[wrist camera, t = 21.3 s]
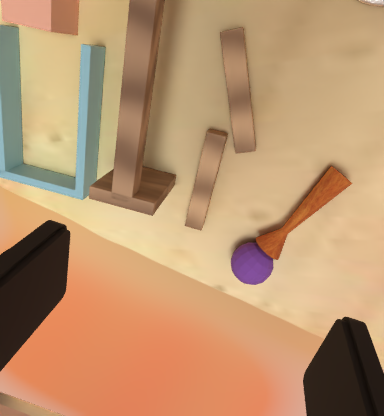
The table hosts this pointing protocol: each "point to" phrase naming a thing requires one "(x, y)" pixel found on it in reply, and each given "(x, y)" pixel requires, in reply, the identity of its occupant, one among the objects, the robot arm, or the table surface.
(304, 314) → the table surface
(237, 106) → the plain stick
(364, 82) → the table surface
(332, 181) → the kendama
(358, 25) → the table surface
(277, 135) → the table surface
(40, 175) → the cubby
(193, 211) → the plain stick
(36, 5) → the clay-red block
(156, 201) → the crook rake
